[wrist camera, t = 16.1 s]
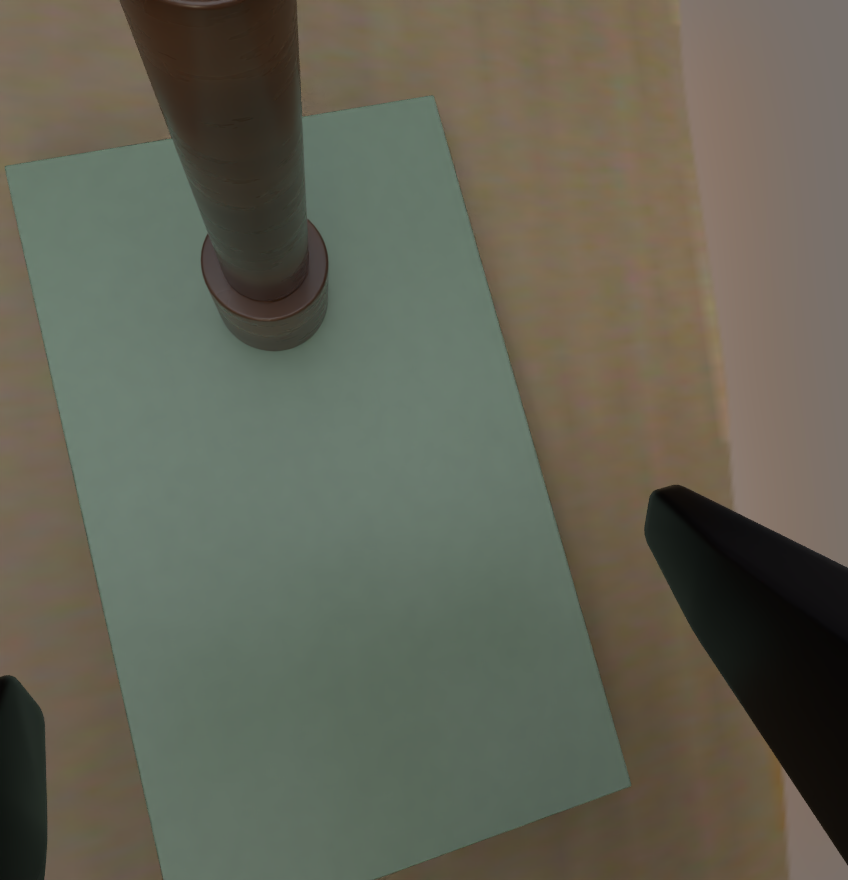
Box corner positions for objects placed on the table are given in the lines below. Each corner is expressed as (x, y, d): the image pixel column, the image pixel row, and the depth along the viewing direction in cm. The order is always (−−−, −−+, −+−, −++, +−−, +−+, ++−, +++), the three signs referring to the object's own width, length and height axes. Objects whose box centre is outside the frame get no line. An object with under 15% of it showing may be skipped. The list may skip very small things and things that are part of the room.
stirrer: (312, 364, 21) (296, 83, 8) (204, 335, 20) (2, -6, 7) (339, 264, 21) (365, -151, 8) (234, 235, 21) (93, -245, 8)
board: (611, 769, 22) (632, 786, 20) (189, 920, 19) (178, 952, 18) (426, 121, 24) (434, 94, 22) (25, 190, 21) (3, 165, 20)
